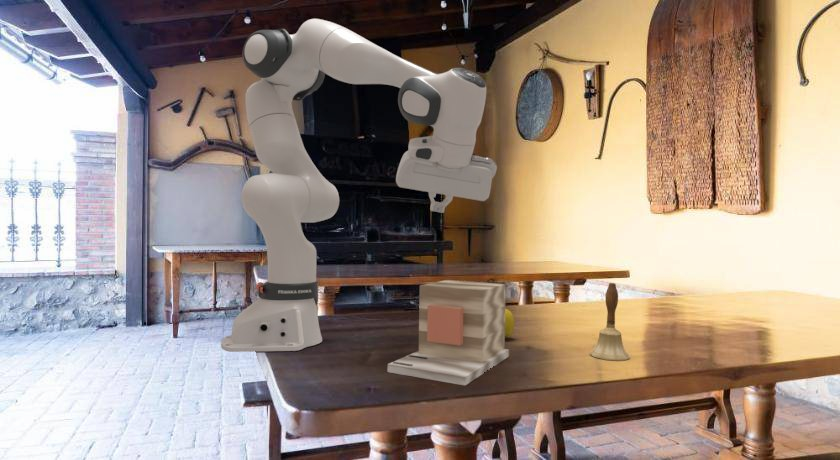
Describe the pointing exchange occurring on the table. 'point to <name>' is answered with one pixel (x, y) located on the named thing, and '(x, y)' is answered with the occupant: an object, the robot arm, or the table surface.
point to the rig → (479, 333)
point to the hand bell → (610, 332)
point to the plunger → (445, 324)
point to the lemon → (508, 322)
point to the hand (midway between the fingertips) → (436, 210)
